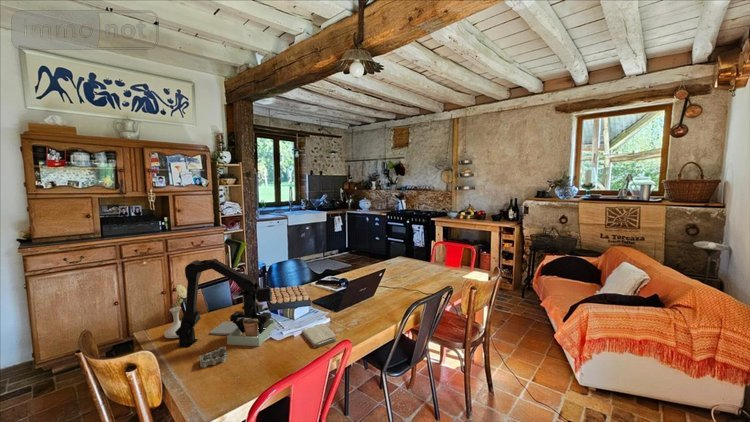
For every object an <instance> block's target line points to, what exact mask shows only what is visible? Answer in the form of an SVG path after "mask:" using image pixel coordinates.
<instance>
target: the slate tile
mask: <svg viewBox="0 0 750 422" xmlns="http://www.w3.org/2000/svg"><path fill="white" fill-rule="evenodd" d="M236 328H237V325H236V324H235V323H233V321H222V322H221V323H220V324H219V325H217V326H216V327H214V328H213V329H212V330H211V331H209V335H211V336H212V335H214V336H215V335H216V336H228V335H229V334H230V333H232V332H233V331H234V330H235V329H236Z"/></svg>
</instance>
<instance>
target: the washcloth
mask: <svg viewBox="0 0 750 422" xmlns="http://www.w3.org/2000/svg"><path fill="white" fill-rule="evenodd" d="M301 334H302V335H303V336H304V338H305V339H306V340H308V342H309V343H310V344H311V345H312V347H313V348H314V349H316V348H318V347H319V348H320V347H323V346H327V345H329V344H332V343H334V342H335V343H336V341H337V338H336V334H335V333H334V331H333V330H332V329H330V328H329V327H328V326H327V325H326V324H325V323H319V324H317V325H315V326H312V327H311V326H310V327H308V328H306V329H302V330H301Z"/></svg>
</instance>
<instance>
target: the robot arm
mask: <svg viewBox="0 0 750 422" xmlns="http://www.w3.org/2000/svg"><path fill="white" fill-rule="evenodd" d="M209 270H213V271H214V272H217V273H218V274H220V275H222V276H224V277H225V278H227V279H229V280H231V281H232V282H234V283H235V284H236V286H238V288H239V289H241V290H240V291H239V293H238V294H237V295H238V297H241V296H242V303H243V306H242V307H241V309H242V310H243V311H242V310H241V311H239V310H236V311H234V312H233V313H232V314H231V315H230V317H229V320H230V321H229V322H233V323H235V324H236V325H237V327H238V328H239V329H240V331H241V332H242V334H245V331H244V324H243V322H244V319H245V318H248V319H258V321H259V323H258V327H259V330H258V331H259V335H260V334H261V333H262V332H263V331H264V330H263V327H264V324H265V323H266V322H267V321H268V320H269V319H272V314H271V312H270V311H269V312H265V311H264V312H263V308H264V307H263V306H264V305H263V304H262V303H266V302H272V300H273V292H272V289H271V286H269V287H261V285H259V284H258V283H257V281H256V278H255V277H254V276H251V275H249V274H246V273H241V272H239V271H237V270H235V269H234V268H232V267H231V266H229V265H227V264H225V263H223V262H221V261H220V260H219V259H217V258H212V259H204V260H203V259H202V260H198V259H195V260H192V261H191V262H190V263H188V264H186V266H185V267H184V276H185V278H186V281H187V287H186V290H187V295H186V296H187V297H186V298H185V310H184V312H183V315H182V318H181V321H180V322H181V326H180V327H179V328H178V330H177V331H176V332H175V333H176V335H177V336H179V337H178V344H176V347H183V348H189V347H191V346H192V345H193V344H195V343H196V342H197V341H199V339H198V338H196V334H195V333H196V332H195V327H196V325H197V324H198V323H199V321H200V320H201V313H202V311H201V310H200V311H199V310H198V308H197V306H198V305H197V304H198V296H199V295H198V292H199V284H200V283H199V281H200V278H201V275H202V273H204V272H206V271H209ZM259 303H261V304H259ZM260 312H262V313H260Z"/></svg>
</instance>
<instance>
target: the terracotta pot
mask: <svg viewBox="0 0 750 422" xmlns="http://www.w3.org/2000/svg"><path fill="white" fill-rule="evenodd" d="M258 323H259V321H258V319H247V320H245V321H244V322H243V324H244V326H245V331H244V334H245V335H244V336H251V337H257V336H258V335H260V333H259V330H258Z"/></svg>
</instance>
